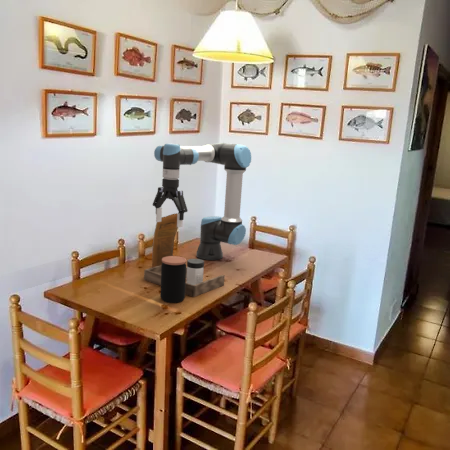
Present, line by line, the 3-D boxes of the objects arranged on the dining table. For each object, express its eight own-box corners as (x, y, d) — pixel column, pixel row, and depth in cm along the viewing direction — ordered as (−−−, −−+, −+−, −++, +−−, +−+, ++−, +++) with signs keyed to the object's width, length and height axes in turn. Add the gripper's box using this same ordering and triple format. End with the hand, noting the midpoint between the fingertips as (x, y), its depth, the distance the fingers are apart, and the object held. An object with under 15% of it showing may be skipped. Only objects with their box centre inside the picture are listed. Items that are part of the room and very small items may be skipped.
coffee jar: (189, 299, 203) (191, 260, 199) (171, 305, 195) (173, 264, 191) (173, 292, 210) (175, 254, 206) (155, 298, 202) (156, 258, 198)
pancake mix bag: (180, 263, 253) (182, 213, 247) (155, 271, 238) (157, 218, 232) (171, 261, 257) (173, 211, 251) (146, 268, 242) (147, 215, 236)
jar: (190, 288, 216) (191, 264, 214) (182, 283, 223) (183, 259, 220) (206, 286, 221) (208, 262, 219) (198, 281, 228) (199, 257, 225)
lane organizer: (175, 270, 242) (176, 260, 241) (224, 285, 224) (224, 275, 223) (143, 279, 224) (144, 269, 223) (193, 297, 206) (194, 286, 205)
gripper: (145, 175, 214) (144, 220, 219) (185, 182, 199) (182, 230, 204) (157, 174, 220) (156, 218, 224) (196, 181, 205) (194, 228, 209)
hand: (168, 224), depth 214 cm, fingers open, 13 cm apart
